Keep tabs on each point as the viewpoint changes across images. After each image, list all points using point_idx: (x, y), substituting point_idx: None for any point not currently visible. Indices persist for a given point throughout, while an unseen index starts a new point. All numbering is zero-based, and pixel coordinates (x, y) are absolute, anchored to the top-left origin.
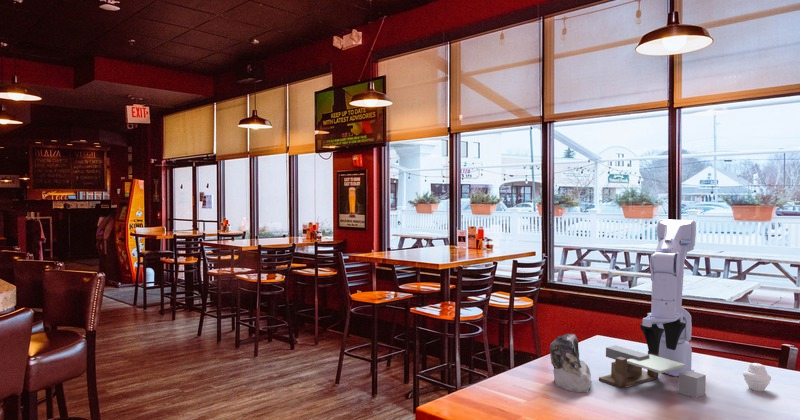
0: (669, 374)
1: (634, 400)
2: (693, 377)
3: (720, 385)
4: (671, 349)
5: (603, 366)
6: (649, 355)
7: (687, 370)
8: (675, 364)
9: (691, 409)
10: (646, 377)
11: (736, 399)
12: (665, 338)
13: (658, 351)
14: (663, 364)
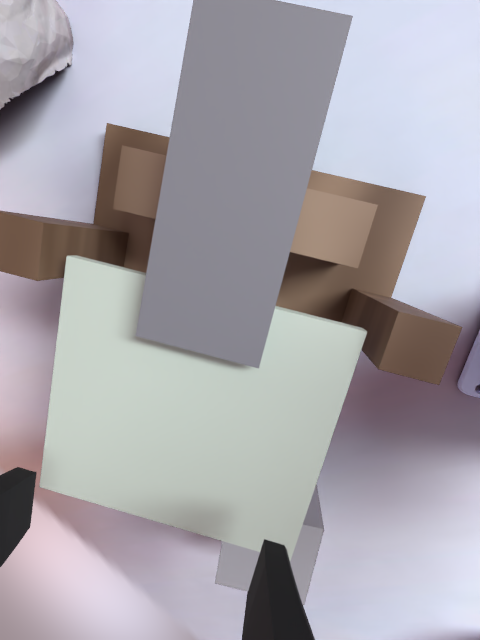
0: (467, 359)
1: (15, 352)
2: (218, 568)
3: (467, 551)
4: (254, 575)
5: (374, 11)
6: (325, 340)
7: (317, 528)
8: (234, 521)
9: (97, 517)
10: (295, 303)
11: (322, 610)
12: (271, 620)
13: (9, 551)
14: (177, 470)
